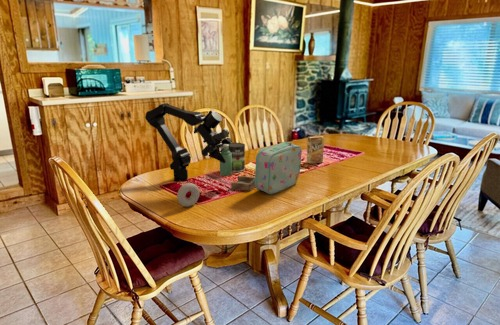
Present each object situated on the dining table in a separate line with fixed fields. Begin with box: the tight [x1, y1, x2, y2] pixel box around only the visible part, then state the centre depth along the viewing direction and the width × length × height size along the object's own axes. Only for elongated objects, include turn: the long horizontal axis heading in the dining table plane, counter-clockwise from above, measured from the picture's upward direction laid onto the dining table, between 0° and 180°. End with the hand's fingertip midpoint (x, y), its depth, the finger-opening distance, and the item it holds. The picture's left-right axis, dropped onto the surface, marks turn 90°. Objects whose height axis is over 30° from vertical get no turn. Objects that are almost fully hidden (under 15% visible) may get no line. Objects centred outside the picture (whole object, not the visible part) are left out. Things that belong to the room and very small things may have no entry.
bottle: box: [219, 144, 233, 177], centre depth 162 cm, size 6×6×14 cm
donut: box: [176, 182, 200, 208], centre depth 144 cm, size 10×3×10 cm, turn 131°
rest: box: [230, 175, 255, 192], centre depth 168 cm, size 10×11×3 cm
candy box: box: [306, 135, 325, 164], centre depth 206 cm, size 9×4×15 cm, turn 107°
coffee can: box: [229, 142, 246, 173], centre depth 193 cm, size 10×10×14 cm
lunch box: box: [254, 141, 302, 195], centre depth 164 cm, size 27×10×21 cm, turn 141°
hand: (228, 161), depth 162 cm, fingers closed on bottle, 6 cm apart
